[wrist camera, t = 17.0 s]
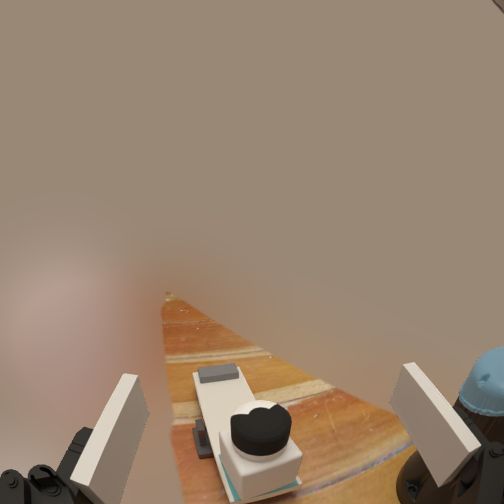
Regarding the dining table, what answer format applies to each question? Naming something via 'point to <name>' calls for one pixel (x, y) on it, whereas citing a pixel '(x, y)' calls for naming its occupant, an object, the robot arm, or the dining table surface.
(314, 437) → the dining table surface
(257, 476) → the medicine bottle
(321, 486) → the dining table surface
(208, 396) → the beam
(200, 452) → the fulcrum
